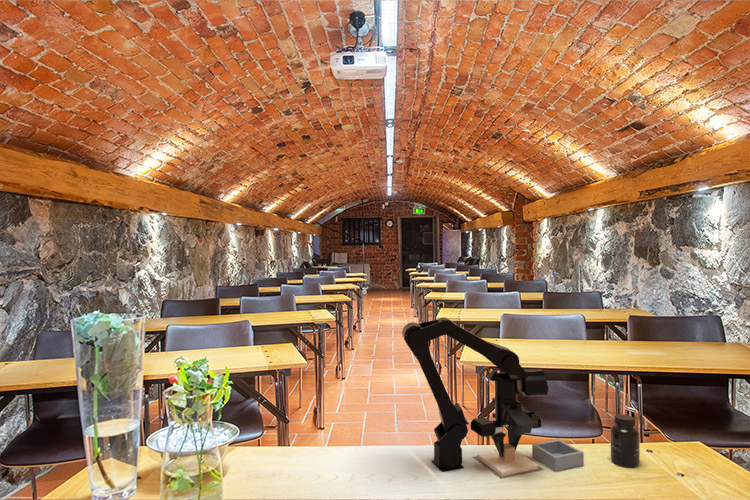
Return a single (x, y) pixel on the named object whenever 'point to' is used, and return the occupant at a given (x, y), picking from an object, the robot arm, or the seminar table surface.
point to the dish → (557, 455)
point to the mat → (506, 475)
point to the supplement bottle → (625, 441)
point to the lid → (507, 461)
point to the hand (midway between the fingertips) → (506, 455)
